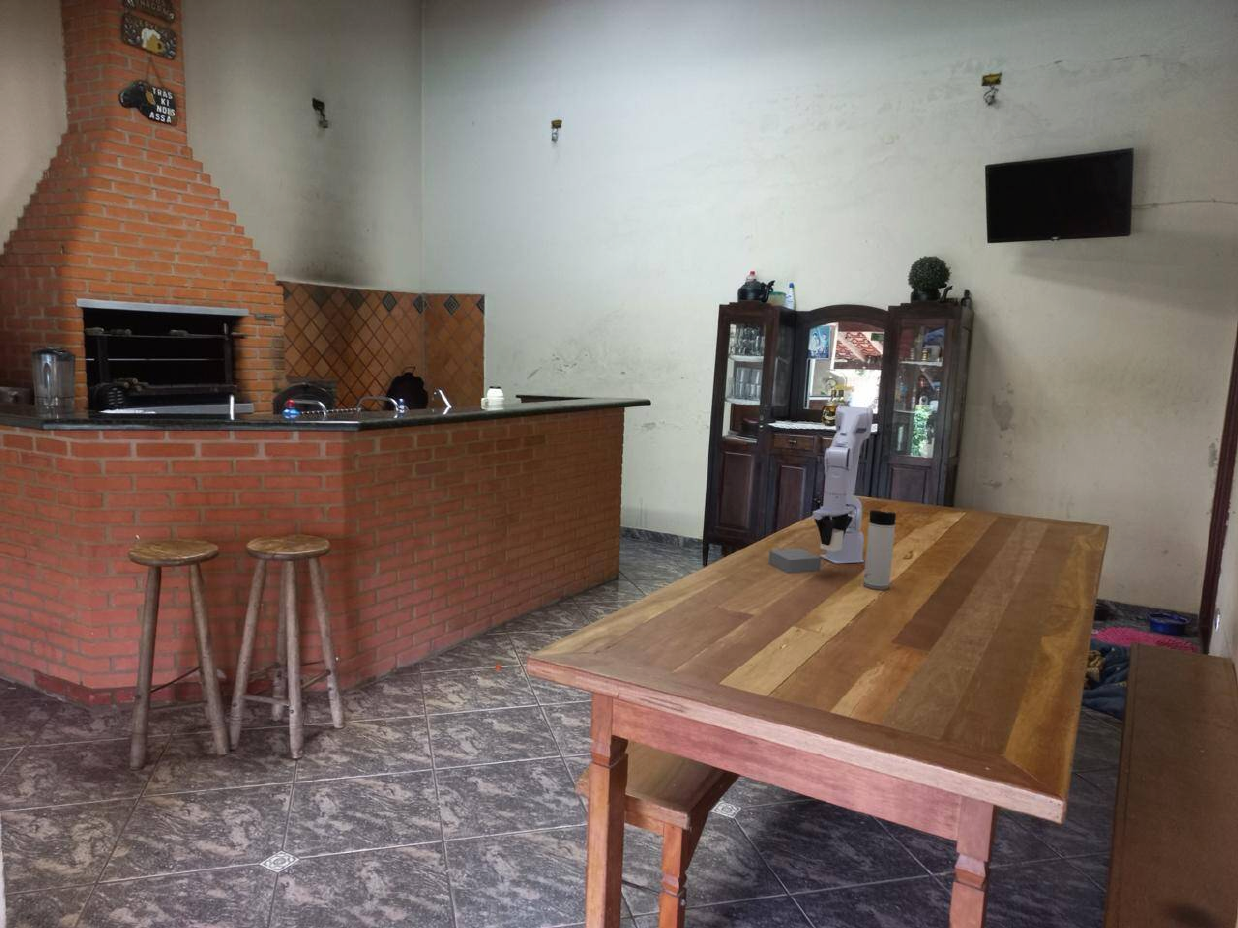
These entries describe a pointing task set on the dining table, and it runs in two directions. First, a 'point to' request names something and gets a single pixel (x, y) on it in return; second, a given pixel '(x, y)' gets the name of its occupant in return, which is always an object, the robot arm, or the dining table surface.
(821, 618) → the dining table surface
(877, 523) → the travel mug
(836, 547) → the top block
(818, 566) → the base block
